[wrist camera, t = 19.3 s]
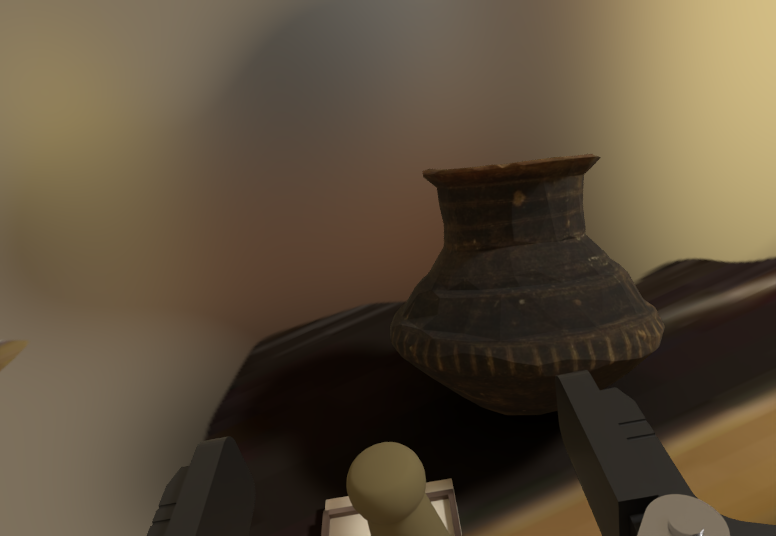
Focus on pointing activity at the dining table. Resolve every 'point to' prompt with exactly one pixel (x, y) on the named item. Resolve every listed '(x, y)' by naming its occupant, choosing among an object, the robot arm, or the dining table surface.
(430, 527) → the cork
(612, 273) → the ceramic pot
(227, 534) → the robot arm
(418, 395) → the dining table surface
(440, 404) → the dining table surface
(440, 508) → the stamping board
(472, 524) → the dining table surface
